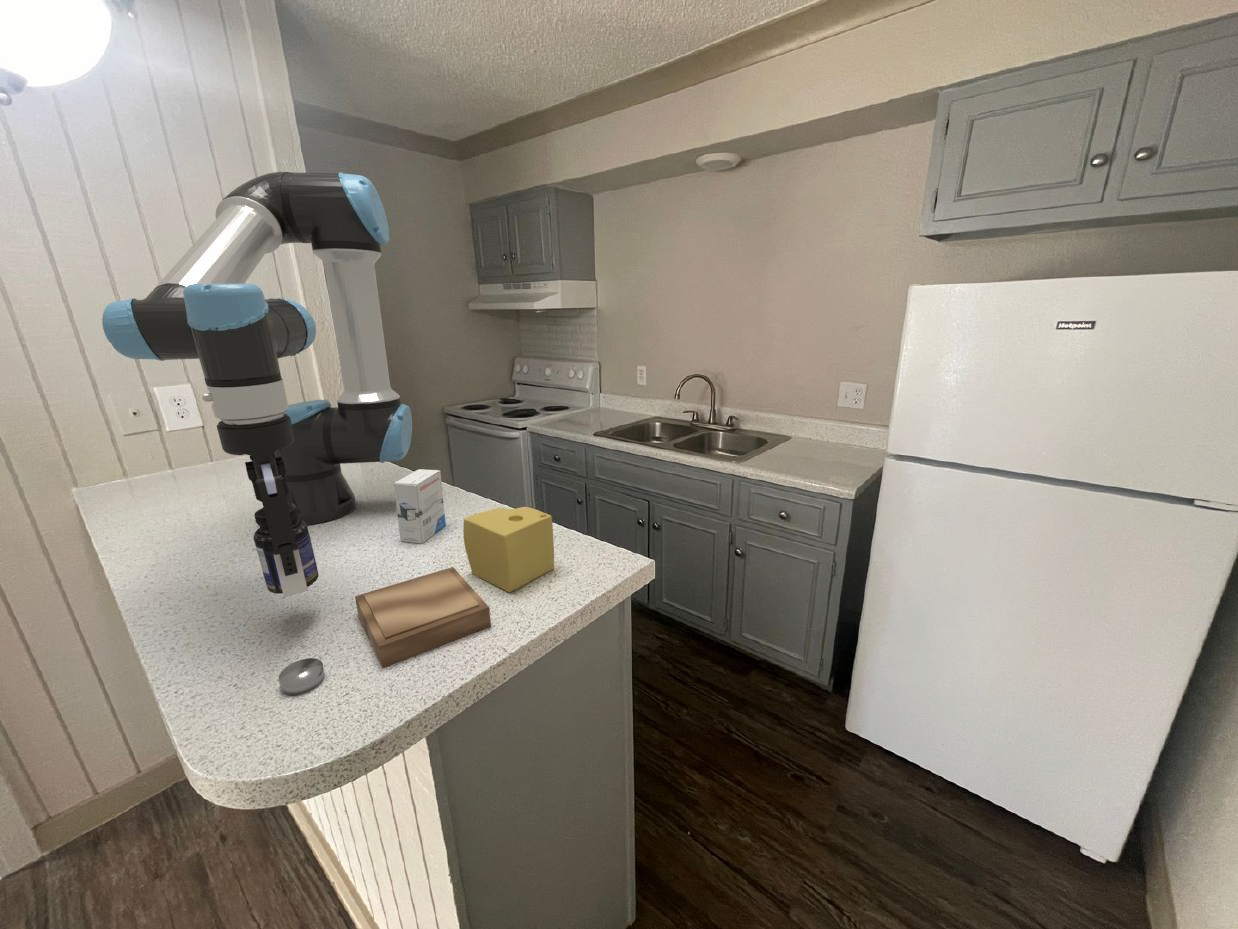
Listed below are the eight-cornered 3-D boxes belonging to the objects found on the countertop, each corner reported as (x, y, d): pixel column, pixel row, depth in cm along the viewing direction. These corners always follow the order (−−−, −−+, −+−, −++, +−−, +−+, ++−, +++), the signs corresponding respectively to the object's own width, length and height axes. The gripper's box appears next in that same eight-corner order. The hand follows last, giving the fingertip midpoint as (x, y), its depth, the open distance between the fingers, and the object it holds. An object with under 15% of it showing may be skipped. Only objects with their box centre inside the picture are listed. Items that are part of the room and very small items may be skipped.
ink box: (425, 523, 104) (418, 468, 100) (448, 525, 103) (441, 469, 99) (399, 542, 96) (391, 482, 92) (424, 544, 95) (416, 484, 91)
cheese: (516, 551, 92) (512, 499, 89) (558, 570, 85) (556, 514, 82) (466, 574, 84) (460, 518, 81) (509, 596, 78) (504, 536, 75)
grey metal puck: (280, 680, 61) (276, 668, 60) (322, 665, 63) (319, 653, 63) (283, 703, 57) (280, 689, 57) (328, 686, 60) (325, 673, 59)
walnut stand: (358, 614, 73) (354, 594, 72) (454, 583, 81) (452, 565, 80) (382, 667, 63) (378, 644, 62) (490, 626, 71) (489, 605, 70)
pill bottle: (327, 571, 74) (312, 500, 70) (304, 595, 68) (286, 519, 64) (283, 571, 73) (266, 500, 70) (256, 596, 68) (235, 520, 64)
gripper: (215, 407, 68) (255, 561, 76) (215, 439, 54) (265, 626, 61) (281, 399, 72) (313, 547, 80) (298, 428, 58) (335, 604, 65)
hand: (292, 581), depth 70 cm, fingers closed on pill bottle, 6 cm apart
